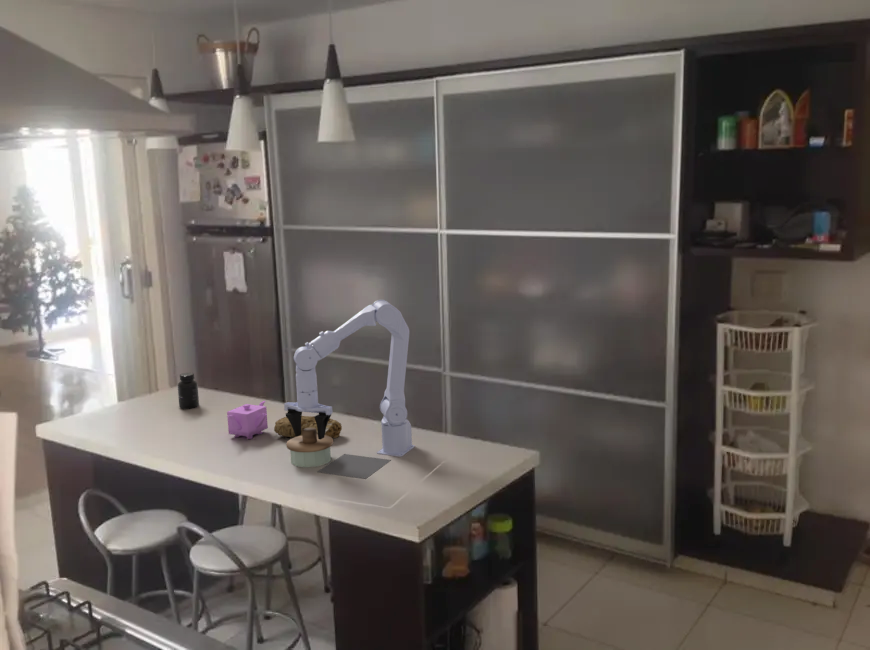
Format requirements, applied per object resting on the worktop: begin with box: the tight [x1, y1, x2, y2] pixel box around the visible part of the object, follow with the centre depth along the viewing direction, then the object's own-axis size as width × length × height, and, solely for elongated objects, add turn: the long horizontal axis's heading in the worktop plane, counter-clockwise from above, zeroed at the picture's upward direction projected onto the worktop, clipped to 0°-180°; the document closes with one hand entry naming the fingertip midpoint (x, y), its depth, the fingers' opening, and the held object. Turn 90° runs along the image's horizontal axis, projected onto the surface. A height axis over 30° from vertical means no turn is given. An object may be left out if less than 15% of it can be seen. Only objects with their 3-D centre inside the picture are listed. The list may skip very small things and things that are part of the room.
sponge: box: [273, 415, 343, 439], centre depth 249 cm, size 13×8×20 cm
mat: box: [316, 453, 392, 480], centre depth 223 cm, size 15×15×1 cm
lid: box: [286, 428, 334, 452], centre depth 227 cm, size 13×13×4 cm
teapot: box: [226, 400, 269, 440], centre depth 252 cm, size 18×13×10 cm
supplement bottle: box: [177, 372, 200, 410], centre depth 285 cm, size 7×7×12 cm
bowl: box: [289, 447, 332, 468], centre depth 228 cm, size 11×11×5 cm
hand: (309, 436), depth 227 cm, fingers open, 7 cm apart
